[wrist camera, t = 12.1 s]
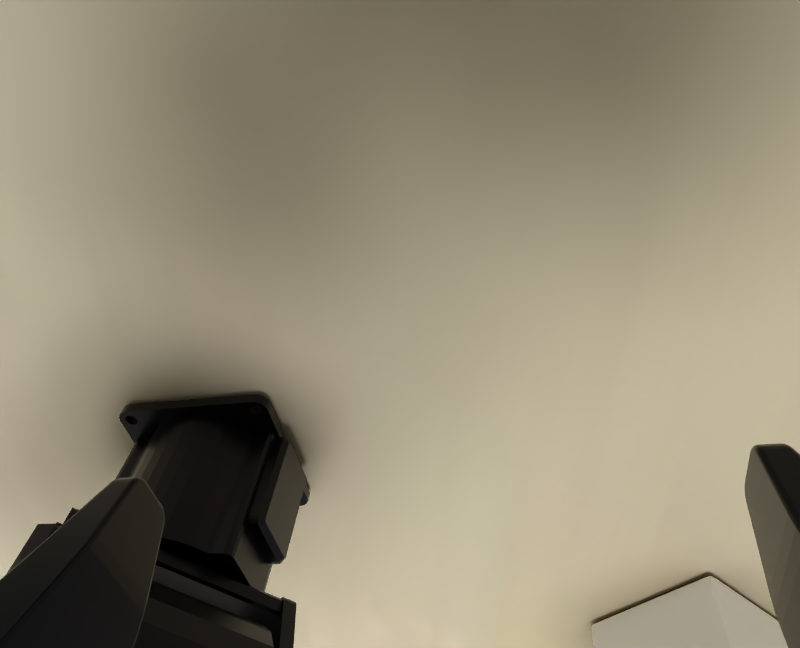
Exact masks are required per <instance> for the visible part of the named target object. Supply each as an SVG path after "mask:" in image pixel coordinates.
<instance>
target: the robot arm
mask: <svg viewBox="0 0 800 648" xmlns="http://www.w3.org/2000/svg"><path fill="white" fill-rule="evenodd" d="M256 407H259V408H256ZM119 418H120V421H121V422H122V424H123V426H124V427H125V429H126V430H127V432H128V433H129V435H130V436H131V438H132V440H133V441H134V443H135V445H134V447H133V448H132V450H131V452H130V454H129V456H128V458H127V459H126V461H125V463H124V465H123V467H122V468H121V470H120V472H119V474H118V476H117V478H116V479H115V480H114V481H112V482H111V483H110V484H109V485H108V486H106V487H105V488H104V489H103V490H102V491H101V492H100V493H98V494H97V495H96V496H95V497H94V498H93V499H92V500H91V501H89V502H88V503H87V504H86V505H85V506H84V507H83V508H81V509H80V510H77V509H75V508H72V509H71V511H70V513H69V515H68V516H67V518H66V520H65V521H64V523H63V524H61V523H58V522H57V523H56V524H38V525H37V526H36V528H35V530H34V531H33V533H32V535H31V536H30V538H29V539H28V541H27V543H26V544H25V546H24V547H23V549H22V551H21V552H20V554H19V555H18V557H17V558H16V560H15V562H14V563H13V565H12V566H11V568H10V569H9V571H8V572H7V574H6V575H5V576H4V577H3V578H2V579H1V580H0V648H293V644H294V630H295V615H296V602H293V601H291V600H289V599H286V598H284V597H282V598H281V599H280V598H277V597H275V596H273V595H270V594H268V593H266V592H265V589H266V585H267V581H268V578H269V574H270V571H271V567H272V564H280V563H281V562H282V561H283V560H284V559H285V557H286V554H287V550H288V547H289V543H290V539H291V535H292V532H293V528H294V524H295V521H296V517H297V513H298V509H299V506H302V505H305V504H306V503H307V502H308V498H309V494H310V492H309V489H308V487H307V485H306V476H305V474H304V472H303V469H302V467H301V465H300V462H299V460H298V458H297V455H296V453H295V451H294V449H293V446H292V444H291V442H290V441H289V440H288V439H287V438H286V437H285V435H284V432H283V430H282V428H281V425H280V423H279V421H278V419H277V416H276V414H275V412H274V410H273V407H272V405H271V403H270V401H269V400H268V399H267V398H265V397H263V396H260V395H247V396H234V397H221V398H208V399H196V400H183V401H170V402H157V403H144V404H132V405H127V406H125V407H124V409H123V410H122V412H121V414H120V417H119ZM745 496H746V502H747V506H748V510H749V514H750V518H751V522H752V526H753V529H754V533H755V537H756V541H757V545H758V549H759V553H760V557H761V561H762V565H763V569H764V573H765V577H766V581H767V584H768V588H769V592H770V596H771V600H772V603H773V607H774V610H775V613H776V616H777V619H778V622H779V625H780V628H781V630H782V633H783V636H784V638H785V641H786V643H787V646H788V648H800V454H799V453H798V452H796V451H795V450H794V449H793V448H792V447H790V446H788V445H786V444H762V445H755V446H754V447H753V448H752V449H751V452H750V457H749V463H748V469H747V474H746V480H745Z"/></svg>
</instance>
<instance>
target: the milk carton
mask: <svg viewBox="0 0 800 648" xmlns="http://www.w3.org/2000/svg"><path fill="white" fill-rule="evenodd" d="M591 631H592V639H593V647H594V648H788V646H787V643H786V641H785V638H784V636H783V633H782V630H781V628H780V625H779V622H778V621H777V620H776V619H774V618H773V617H771V616H770V615H769V614H767V613H766V612H764V611H763V610H761V609H760V608H758V607H757V606H755V605H754V604H753V603H751V602H750V601H748V600H747V599H745V598H744V597H742V596H741V595H739V594H738V593H737V592H735V591H734V590H732V589H731V588H729V587H728V586H726V585H725V584H723V583H722V582H720V581H719V580H717V579H716V578H714V577H712V576H708V577H705V578H703V579H701V580H698V581H696V582H693V583H691V584H688V585H686V586H684V587H681V588H679V589H676V590H674V591H671V592H669V593H667V594H664V595H662V596H659V597H657V598H655V599H652V600H650V601H648V602H645V603H643V604H640V605H638V606H636V607H633V608H631V609H628V610H626V611H624V612H621V613H619V614H616V615H614V616H612V617H609V618H607V619H605V620H602V621H600V622H598V623H595V624H593V625H592V626H591Z"/></svg>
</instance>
